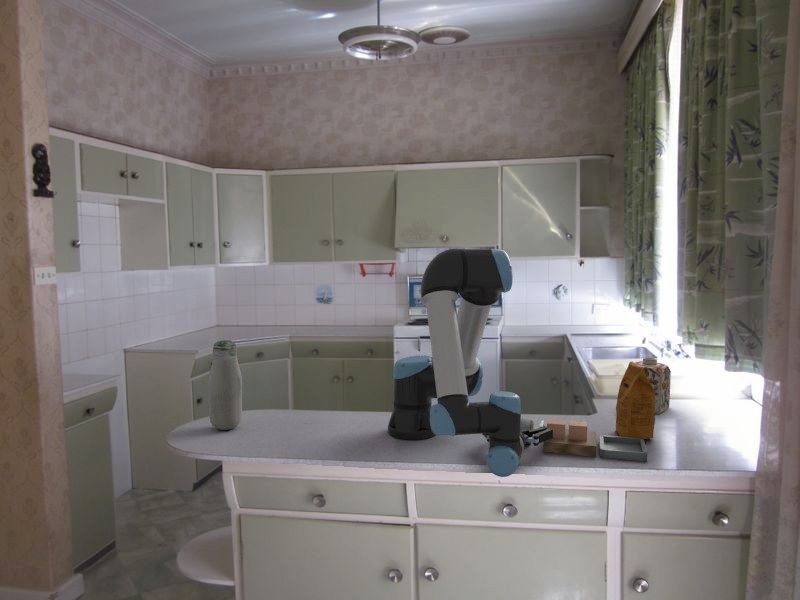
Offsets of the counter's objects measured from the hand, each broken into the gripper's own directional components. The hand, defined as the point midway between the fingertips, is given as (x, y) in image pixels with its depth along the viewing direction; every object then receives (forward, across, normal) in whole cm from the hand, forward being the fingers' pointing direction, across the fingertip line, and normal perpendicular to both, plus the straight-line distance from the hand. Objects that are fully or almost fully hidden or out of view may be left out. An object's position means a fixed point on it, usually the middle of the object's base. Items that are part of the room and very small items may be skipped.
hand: (519, 422), depth 186 cm
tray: (0, +29, -6) cm, 29 cm away
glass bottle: (-13, -89, -6) cm, 90 cm away
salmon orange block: (0, +17, -3) cm, 17 cm away
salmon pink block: (0, +11, -3) cm, 11 cm away
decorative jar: (+54, +39, -6) cm, 67 cm away
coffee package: (+17, +32, -6) cm, 37 cm away
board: (0, +15, -6) cm, 16 cm away
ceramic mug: (+2, 0, -6) cm, 6 cm away
